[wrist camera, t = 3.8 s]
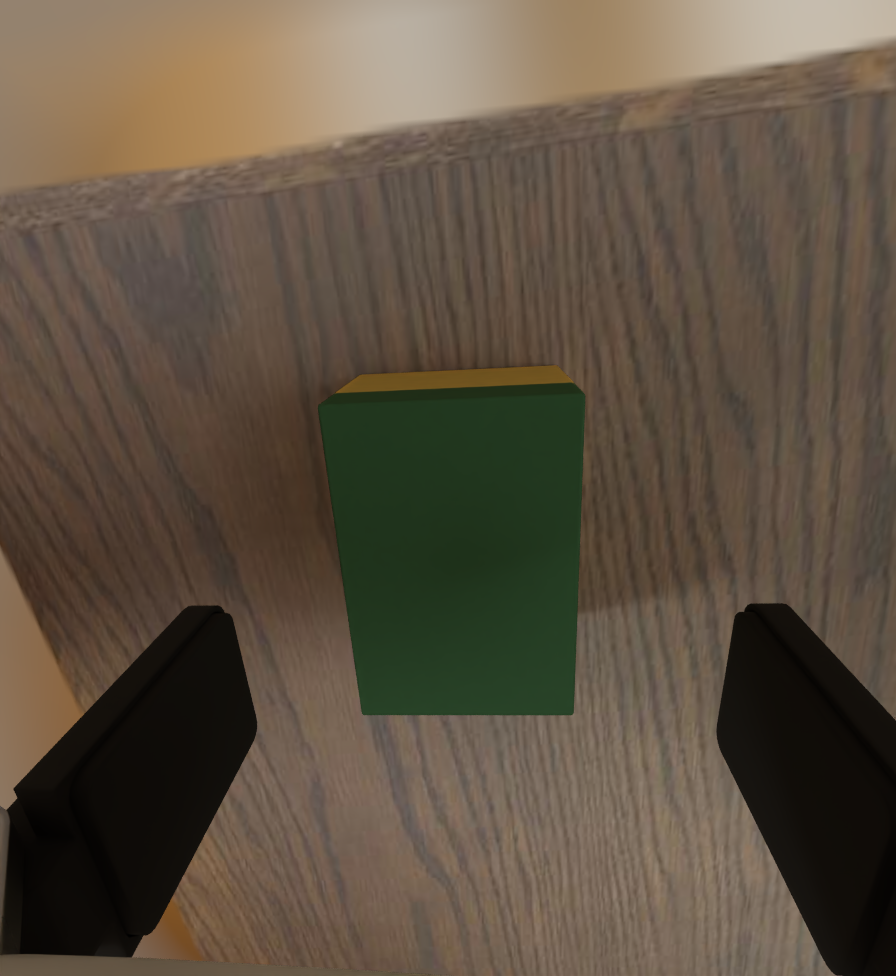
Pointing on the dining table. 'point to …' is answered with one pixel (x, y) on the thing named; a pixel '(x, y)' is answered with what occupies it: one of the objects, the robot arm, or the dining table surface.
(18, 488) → the dining table surface
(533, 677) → the scrubber
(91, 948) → the robot arm
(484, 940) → the dining table surface
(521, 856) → the dining table surface
